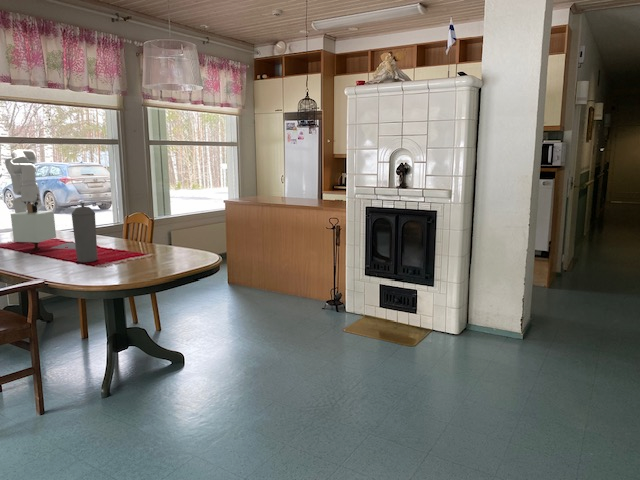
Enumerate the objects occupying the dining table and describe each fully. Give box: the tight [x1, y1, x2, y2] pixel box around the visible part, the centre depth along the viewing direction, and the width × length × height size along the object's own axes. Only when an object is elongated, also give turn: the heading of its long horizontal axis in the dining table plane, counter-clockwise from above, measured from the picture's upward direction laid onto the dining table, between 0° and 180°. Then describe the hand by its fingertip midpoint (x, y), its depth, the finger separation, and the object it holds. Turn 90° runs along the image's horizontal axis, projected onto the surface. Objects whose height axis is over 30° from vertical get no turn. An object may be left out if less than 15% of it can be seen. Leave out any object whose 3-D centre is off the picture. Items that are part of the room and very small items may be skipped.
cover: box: [10, 203, 57, 244], centre depth 315 cm, size 17×17×24 cm
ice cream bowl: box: [29, 242, 42, 251], centre depth 317 cm, size 11×11×15 cm
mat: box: [51, 241, 76, 250], centre depth 330 cm, size 20×20×1 cm
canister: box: [70, 202, 98, 263], centre depth 285 cm, size 13×13×35 cm
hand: (32, 211), depth 314 cm, fingers closed on cover, 3 cm apart
